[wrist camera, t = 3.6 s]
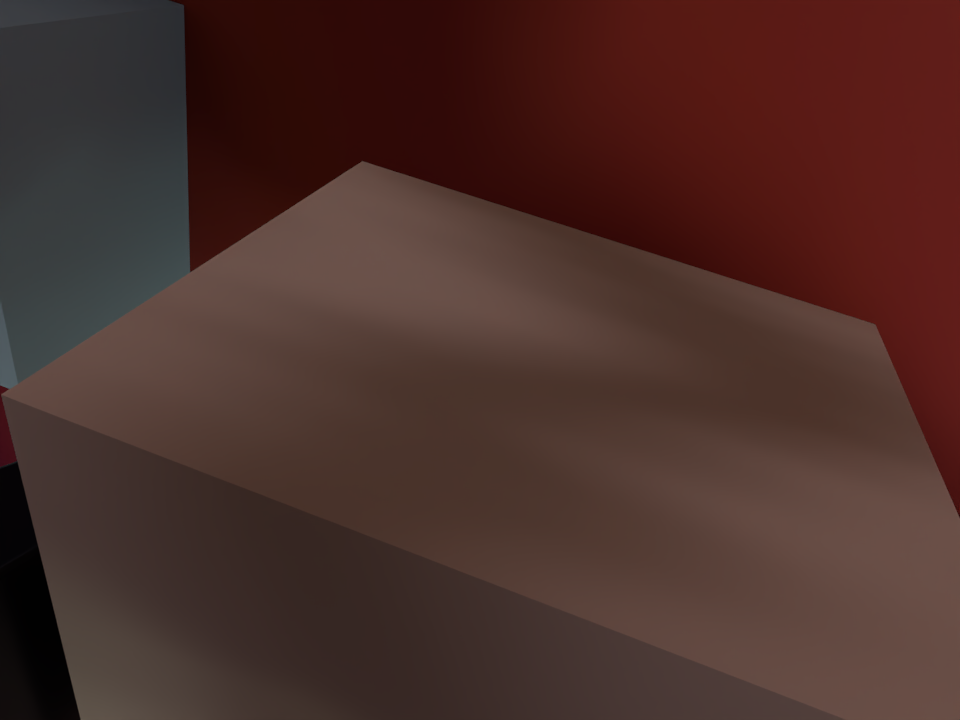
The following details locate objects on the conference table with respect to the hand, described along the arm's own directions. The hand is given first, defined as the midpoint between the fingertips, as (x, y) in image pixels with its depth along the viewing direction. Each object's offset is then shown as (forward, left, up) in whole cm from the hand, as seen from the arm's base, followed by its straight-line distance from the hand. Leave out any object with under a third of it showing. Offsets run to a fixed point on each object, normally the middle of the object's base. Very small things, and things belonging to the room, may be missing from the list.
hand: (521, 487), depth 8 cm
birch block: (0, 0, -1) cm, 1 cm away
